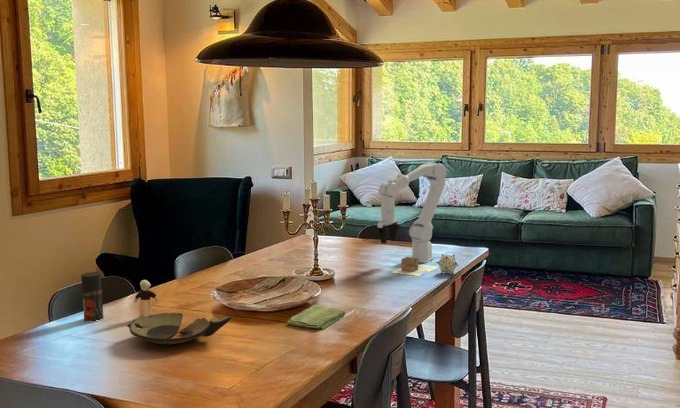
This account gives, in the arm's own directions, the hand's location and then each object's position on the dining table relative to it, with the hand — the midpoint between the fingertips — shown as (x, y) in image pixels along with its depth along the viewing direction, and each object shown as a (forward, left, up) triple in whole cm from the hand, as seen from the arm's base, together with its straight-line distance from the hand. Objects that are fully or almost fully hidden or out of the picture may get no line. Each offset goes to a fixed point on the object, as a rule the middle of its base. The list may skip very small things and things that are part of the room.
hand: (388, 241), depth 286 cm
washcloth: (+79, +18, -11) cm, 82 cm away
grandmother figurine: (+105, -32, -11) cm, 110 cm away
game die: (+1, +28, -11) cm, 30 cm away
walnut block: (+4, +13, -10) cm, 17 cm away
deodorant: (+115, -46, -11) cm, 124 cm away
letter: (+2, +14, -10) cm, 18 cm away
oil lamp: (+116, -6, -11) cm, 117 cm away
